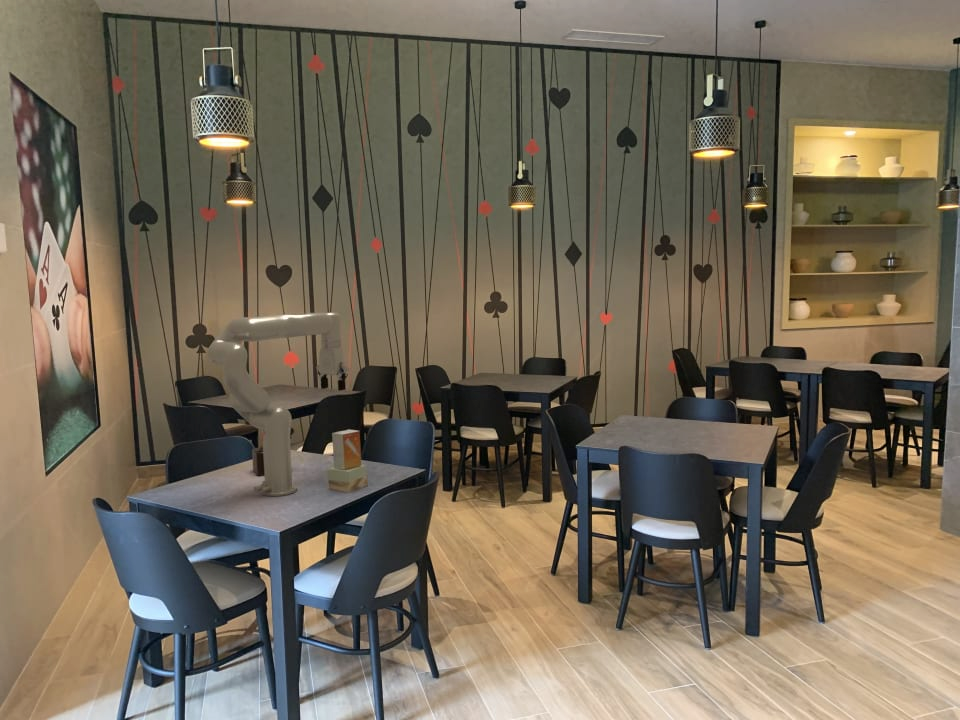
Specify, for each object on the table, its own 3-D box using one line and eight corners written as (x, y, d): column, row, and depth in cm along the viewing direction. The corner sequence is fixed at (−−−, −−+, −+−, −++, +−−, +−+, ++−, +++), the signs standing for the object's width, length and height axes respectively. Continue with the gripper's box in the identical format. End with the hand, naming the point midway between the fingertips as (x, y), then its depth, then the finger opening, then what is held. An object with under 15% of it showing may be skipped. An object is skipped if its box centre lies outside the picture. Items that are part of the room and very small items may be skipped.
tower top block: (349, 482, 263) (348, 471, 263) (327, 479, 268) (326, 468, 268) (366, 475, 272) (365, 465, 272) (345, 473, 277) (344, 462, 276)
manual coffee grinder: (258, 477, 288) (255, 431, 286) (252, 471, 298) (249, 427, 296) (297, 471, 295) (295, 427, 293) (290, 465, 305) (288, 423, 303)
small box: (344, 470, 265) (342, 434, 264) (333, 468, 269) (331, 432, 268) (362, 465, 271) (359, 430, 270) (350, 463, 275) (348, 429, 274)
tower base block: (348, 493, 264) (348, 482, 263) (328, 489, 269) (328, 479, 269) (367, 486, 272) (367, 476, 272) (348, 483, 278) (347, 472, 277)
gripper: (308, 344, 283) (310, 388, 285) (339, 346, 272) (341, 392, 274) (323, 343, 289) (325, 386, 291) (354, 344, 278) (356, 389, 280)
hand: (333, 389), depth 282 cm, fingers open, 9 cm apart
